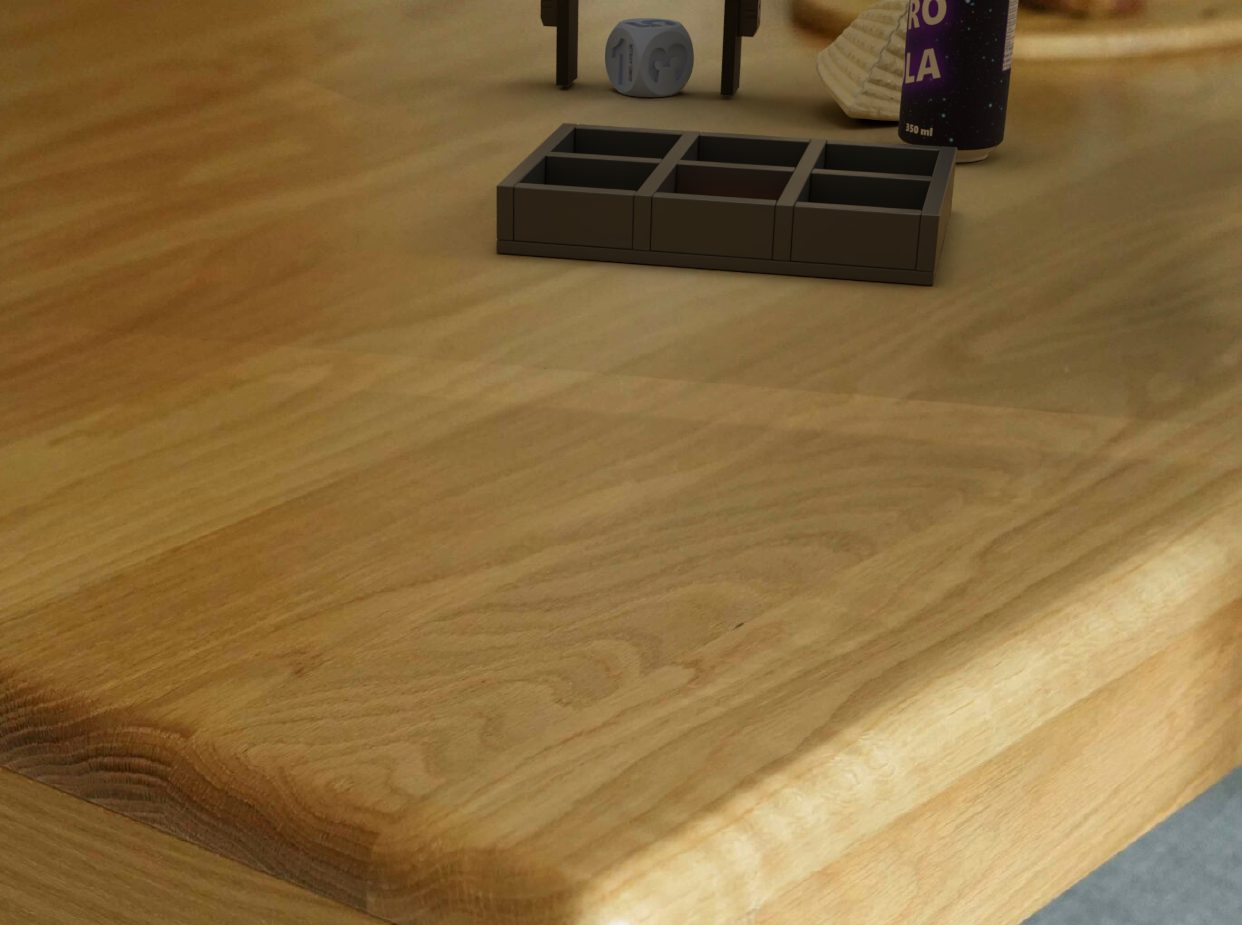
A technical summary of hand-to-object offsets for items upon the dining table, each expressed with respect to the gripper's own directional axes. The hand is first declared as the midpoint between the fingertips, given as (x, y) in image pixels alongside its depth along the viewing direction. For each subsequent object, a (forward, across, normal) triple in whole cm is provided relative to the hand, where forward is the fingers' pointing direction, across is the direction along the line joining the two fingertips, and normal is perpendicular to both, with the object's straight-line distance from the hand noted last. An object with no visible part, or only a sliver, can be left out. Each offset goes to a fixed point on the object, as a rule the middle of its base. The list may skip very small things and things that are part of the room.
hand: (647, 86), depth 127 cm
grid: (0, +10, -31) cm, 33 cm away
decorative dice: (0, 0, 0) cm, 1 cm away
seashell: (0, +14, -2) cm, 14 cm away
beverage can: (0, +19, -12) cm, 23 cm away
